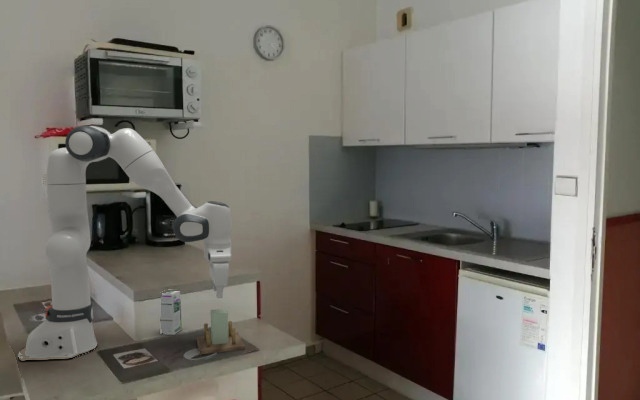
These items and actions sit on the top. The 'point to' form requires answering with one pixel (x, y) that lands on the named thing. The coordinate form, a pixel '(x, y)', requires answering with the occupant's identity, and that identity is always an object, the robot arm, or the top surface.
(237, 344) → the standoff base
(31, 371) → the top surface
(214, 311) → the green block
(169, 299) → the syrup box
